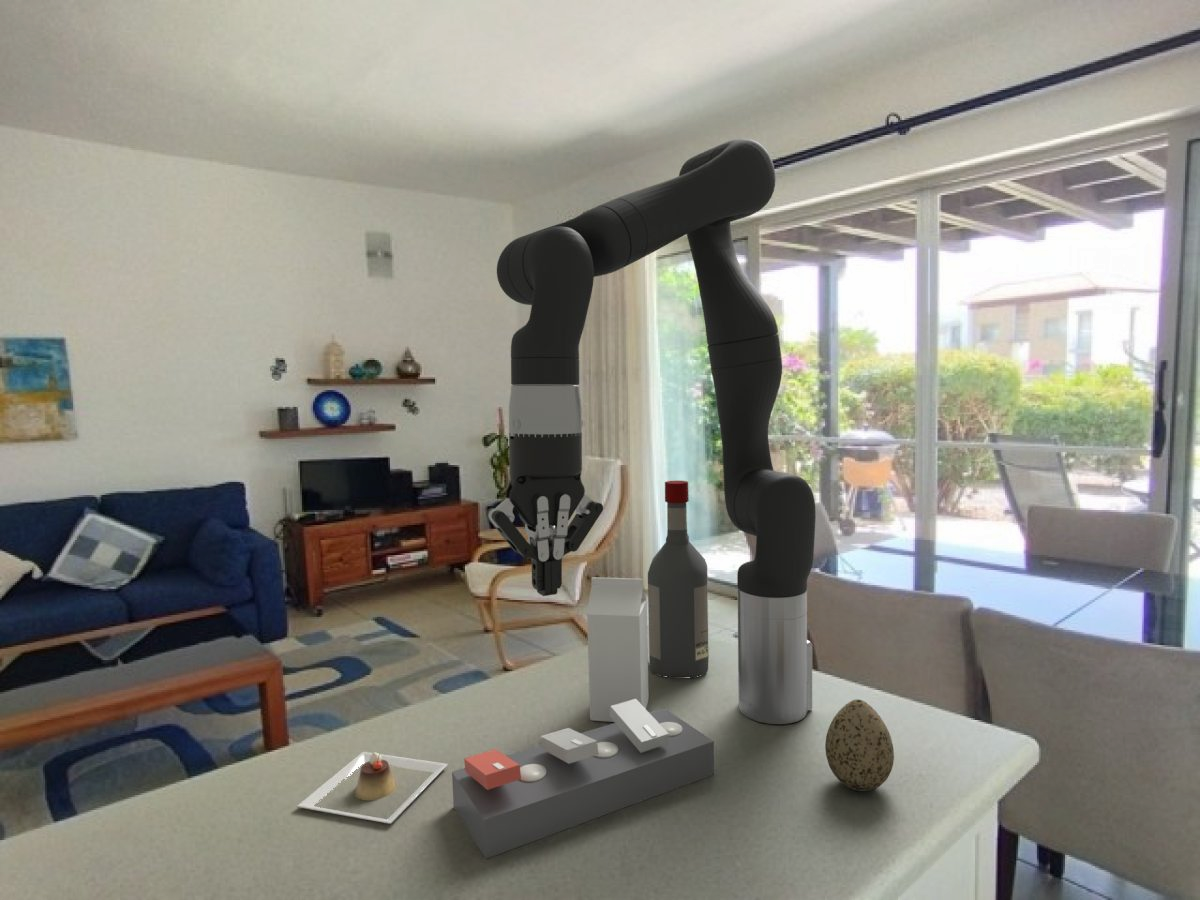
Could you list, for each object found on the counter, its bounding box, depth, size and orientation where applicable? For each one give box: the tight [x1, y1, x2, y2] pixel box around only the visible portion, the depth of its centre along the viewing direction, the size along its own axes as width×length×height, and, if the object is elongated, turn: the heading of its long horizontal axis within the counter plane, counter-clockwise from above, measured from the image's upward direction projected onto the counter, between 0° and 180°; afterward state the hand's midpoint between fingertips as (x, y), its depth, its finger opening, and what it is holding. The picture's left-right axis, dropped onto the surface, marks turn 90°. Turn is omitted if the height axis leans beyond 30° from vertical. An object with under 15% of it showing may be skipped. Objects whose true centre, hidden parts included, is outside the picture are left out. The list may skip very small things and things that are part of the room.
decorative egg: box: [824, 699, 895, 792], centre depth 78 cm, size 7×7×10 cm
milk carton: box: [586, 576, 650, 723], centre depth 97 cm, size 7×7×19 cm
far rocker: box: [610, 699, 669, 753], centre depth 82 cm, size 4×7×2 cm, turn 30°
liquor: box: [647, 480, 710, 679], centre depth 112 cm, size 9×9×30 cm
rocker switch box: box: [451, 707, 715, 860], centre depth 79 cm, size 28×10×4 cm, turn 120°
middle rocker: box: [539, 727, 599, 764], centre depth 78 cm, size 4×7×2 cm, turn 30°
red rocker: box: [463, 748, 521, 790], centre depth 73 cm, size 4×7×2 cm, turn 30°
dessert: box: [295, 751, 448, 824], centre depth 81 cm, size 12×12×5 cm
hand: (546, 593), depth 74 cm, fingers closed
